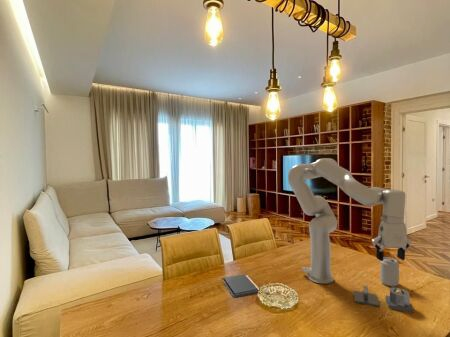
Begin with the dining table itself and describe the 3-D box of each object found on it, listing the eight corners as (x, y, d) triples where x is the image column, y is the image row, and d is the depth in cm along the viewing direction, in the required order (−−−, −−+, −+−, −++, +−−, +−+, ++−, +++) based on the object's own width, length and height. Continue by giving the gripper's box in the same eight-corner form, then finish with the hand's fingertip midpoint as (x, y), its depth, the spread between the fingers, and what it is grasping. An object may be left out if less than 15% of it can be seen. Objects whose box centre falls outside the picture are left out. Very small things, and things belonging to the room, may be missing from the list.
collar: (400, 307, 100) (400, 297, 100) (385, 299, 106) (385, 288, 106) (413, 305, 102) (413, 294, 102) (398, 296, 108) (398, 286, 108)
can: (401, 288, 118) (402, 262, 118) (384, 286, 120) (384, 261, 119) (394, 280, 126) (394, 256, 125) (377, 279, 127) (378, 255, 127)
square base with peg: (389, 308, 102) (389, 292, 102) (385, 298, 110) (385, 283, 109) (413, 313, 99) (413, 297, 99) (407, 302, 106) (408, 287, 106)
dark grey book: (220, 275, 130) (247, 271, 134) (220, 279, 130) (247, 275, 134) (232, 295, 111) (263, 290, 115) (232, 300, 111) (264, 294, 115)
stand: (354, 302, 107) (354, 288, 107) (353, 292, 115) (353, 279, 115) (379, 307, 103) (379, 292, 103) (376, 296, 111) (376, 282, 111)
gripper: (380, 222, 101) (377, 263, 102) (419, 221, 103) (416, 262, 104) (367, 217, 108) (365, 256, 109) (404, 216, 110) (401, 255, 111)
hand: (390, 259), depth 106 cm, fingers open, 9 cm apart
